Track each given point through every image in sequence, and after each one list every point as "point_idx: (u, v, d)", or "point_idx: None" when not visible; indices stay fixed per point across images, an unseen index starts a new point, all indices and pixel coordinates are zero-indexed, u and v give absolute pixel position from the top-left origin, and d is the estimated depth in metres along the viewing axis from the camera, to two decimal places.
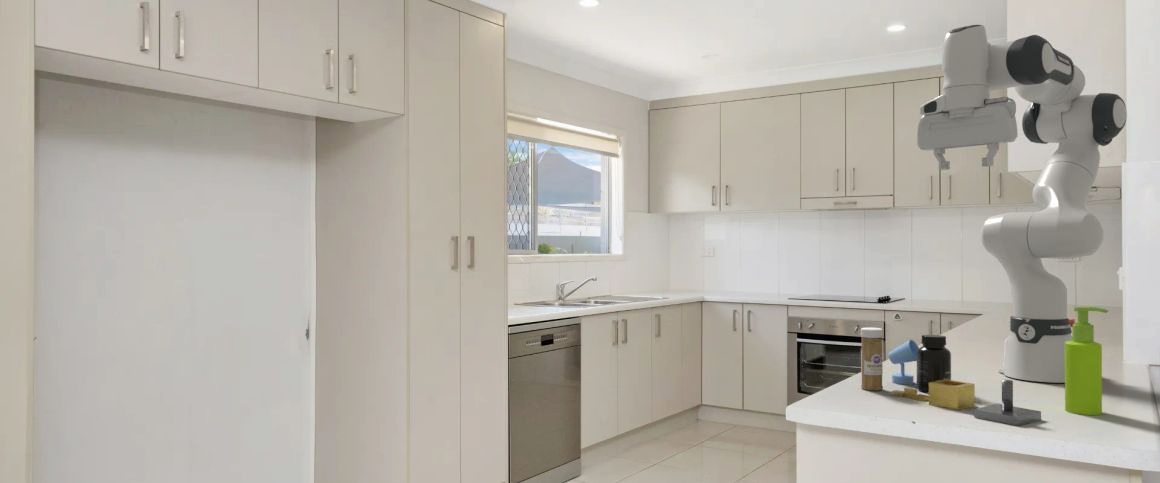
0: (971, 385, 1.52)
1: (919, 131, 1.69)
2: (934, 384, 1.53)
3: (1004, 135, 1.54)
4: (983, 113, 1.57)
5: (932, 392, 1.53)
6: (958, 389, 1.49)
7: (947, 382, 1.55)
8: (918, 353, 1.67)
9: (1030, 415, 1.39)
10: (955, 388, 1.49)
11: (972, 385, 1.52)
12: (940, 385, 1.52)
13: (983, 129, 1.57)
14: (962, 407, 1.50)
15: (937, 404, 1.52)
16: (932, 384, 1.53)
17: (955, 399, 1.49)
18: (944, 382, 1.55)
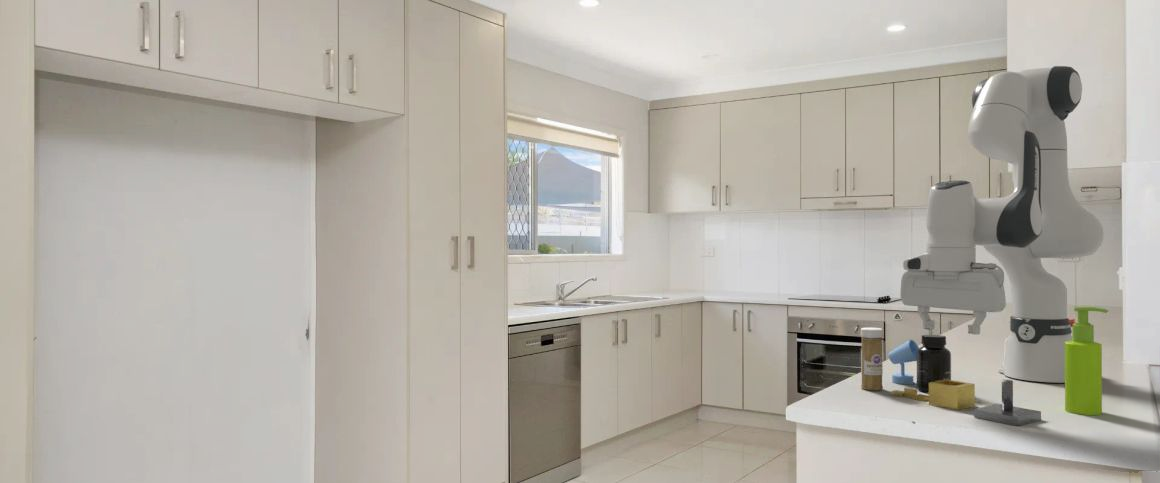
0: (971, 385, 1.52)
1: (902, 286, 1.59)
2: (934, 384, 1.53)
3: (992, 306, 1.44)
4: (969, 279, 1.48)
5: (932, 392, 1.53)
6: (958, 389, 1.49)
7: (947, 382, 1.55)
8: (918, 353, 1.67)
9: (1030, 415, 1.39)
10: (955, 388, 1.49)
11: (972, 385, 1.52)
12: (940, 385, 1.52)
13: (969, 296, 1.48)
14: (962, 407, 1.50)
15: (937, 404, 1.52)
16: (932, 384, 1.53)
17: (955, 399, 1.49)
18: (944, 382, 1.55)
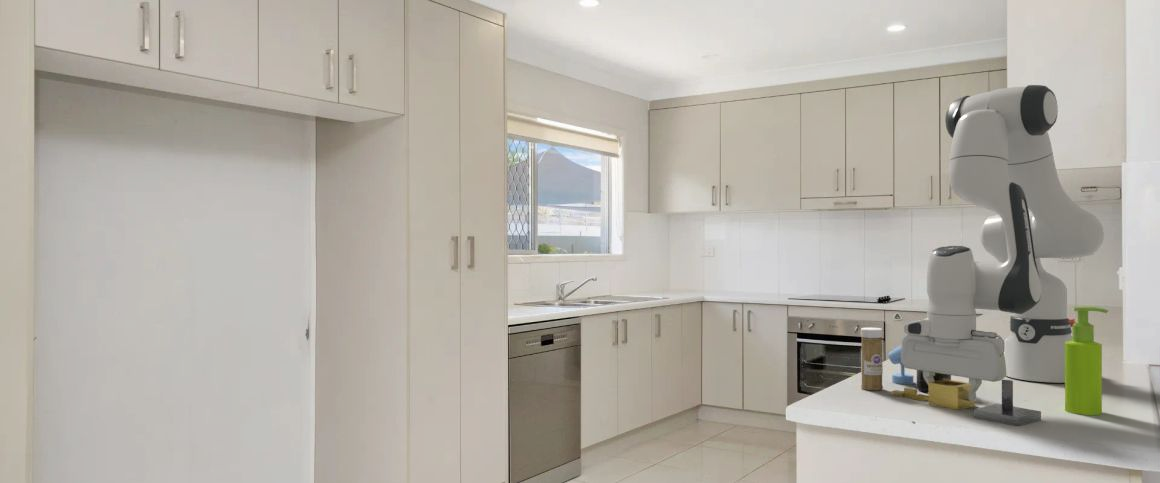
0: None
1: (903, 349, 1.59)
2: (934, 384, 1.53)
3: (992, 375, 1.44)
4: (970, 347, 1.48)
5: (932, 392, 1.53)
6: (958, 389, 1.49)
7: (947, 382, 1.55)
8: None
9: (1030, 415, 1.39)
10: (955, 388, 1.49)
11: None
12: (940, 385, 1.52)
13: (970, 364, 1.48)
14: (962, 407, 1.50)
15: (937, 404, 1.52)
16: (932, 384, 1.53)
17: (955, 399, 1.49)
18: (944, 382, 1.55)
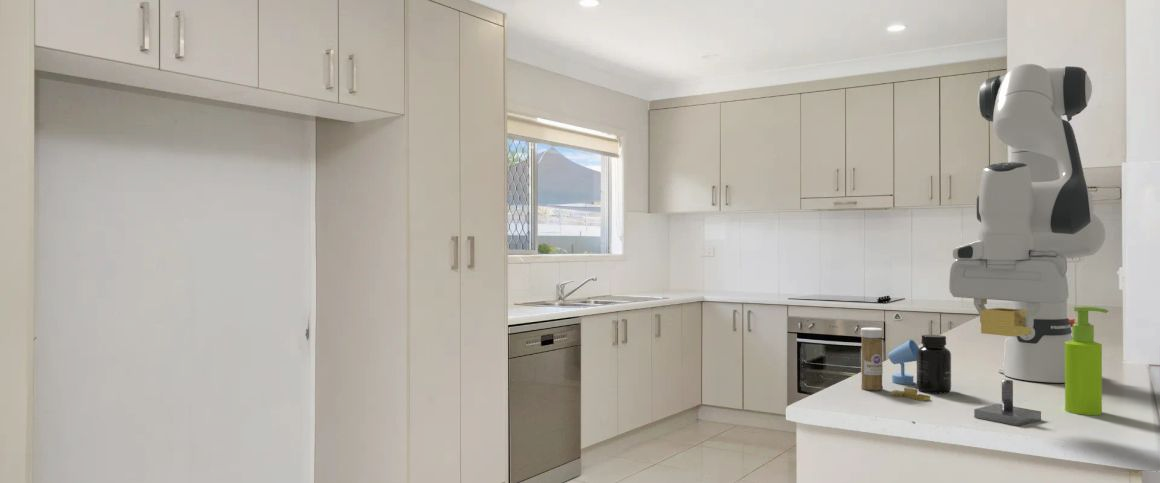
0: None
1: (952, 276, 1.48)
2: (987, 311, 1.42)
3: (1054, 297, 1.33)
4: (1028, 268, 1.37)
5: (985, 320, 1.42)
6: (1015, 314, 1.38)
7: (1000, 310, 1.44)
8: (918, 353, 1.67)
9: (1030, 415, 1.39)
10: (1011, 313, 1.38)
11: None
12: (994, 311, 1.41)
13: (1028, 286, 1.37)
14: (1019, 334, 1.39)
15: (991, 332, 1.41)
16: (985, 311, 1.42)
17: (1011, 325, 1.38)
18: (997, 310, 1.44)
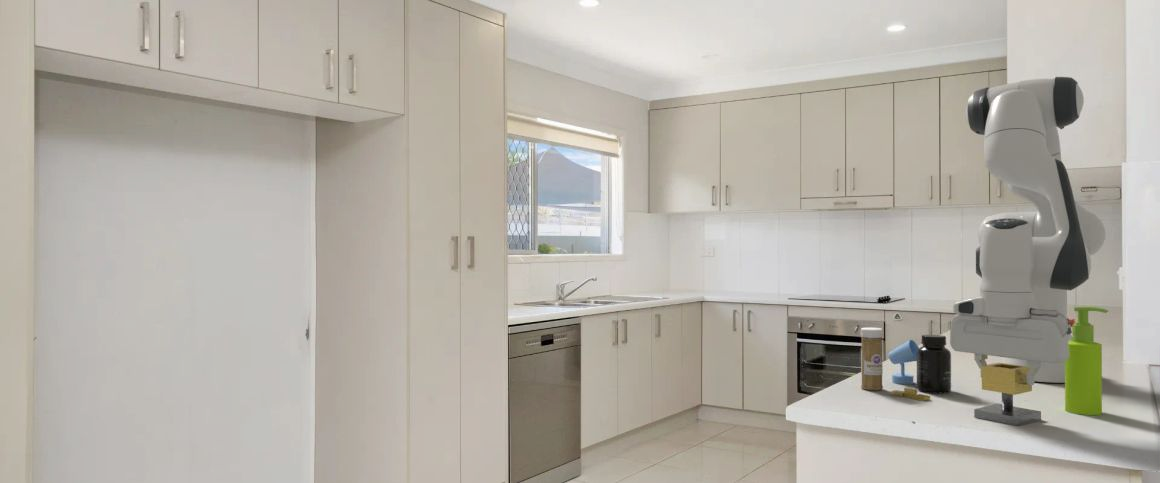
0: (1028, 368, 1.40)
1: (952, 330, 1.48)
2: (988, 367, 1.42)
3: (1055, 357, 1.33)
4: (1029, 327, 1.37)
5: (986, 376, 1.42)
6: (1015, 372, 1.38)
7: (1001, 366, 1.44)
8: (918, 353, 1.67)
9: (1030, 415, 1.39)
10: (1012, 371, 1.38)
11: (1029, 368, 1.40)
12: (995, 368, 1.40)
13: (1029, 345, 1.37)
14: (1019, 392, 1.38)
15: (991, 389, 1.41)
16: (986, 367, 1.42)
17: (1012, 383, 1.38)
18: (998, 365, 1.44)
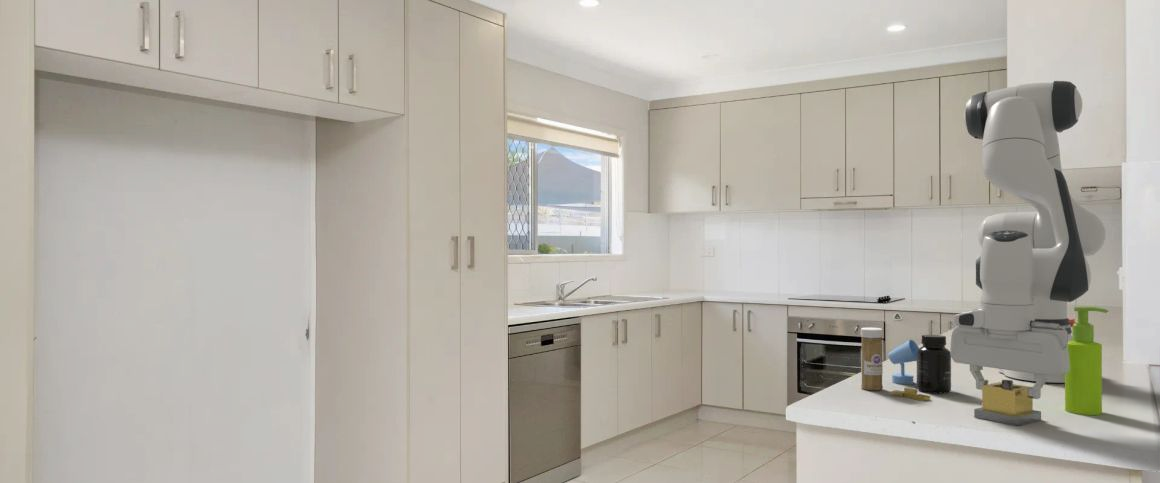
0: None
1: (953, 342, 1.48)
2: (988, 387, 1.42)
3: (1055, 370, 1.33)
4: (1029, 339, 1.37)
5: (986, 396, 1.42)
6: (1016, 393, 1.38)
7: None
8: (918, 353, 1.67)
9: (1030, 415, 1.39)
10: (1012, 392, 1.38)
11: None
12: (995, 389, 1.41)
13: (1029, 357, 1.37)
14: (1020, 412, 1.39)
15: (992, 409, 1.41)
16: (986, 387, 1.42)
17: (1012, 404, 1.38)
18: (998, 385, 1.44)
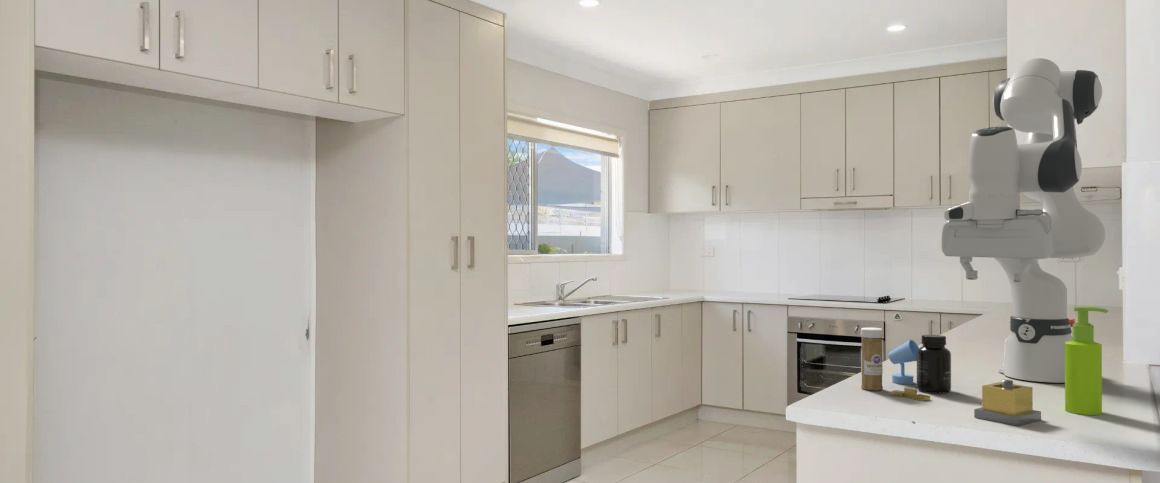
0: (1029, 388, 1.40)
1: (943, 237, 1.56)
2: (988, 387, 1.42)
3: (1039, 252, 1.42)
4: (1015, 226, 1.45)
5: (986, 396, 1.42)
6: (1016, 393, 1.38)
7: None
8: (918, 353, 1.67)
9: (1030, 415, 1.39)
10: (1012, 392, 1.38)
11: (1030, 389, 1.41)
12: (995, 389, 1.41)
13: (1015, 243, 1.45)
14: (1020, 412, 1.39)
15: (992, 409, 1.41)
16: (986, 387, 1.42)
17: (1012, 404, 1.38)
18: (998, 385, 1.44)
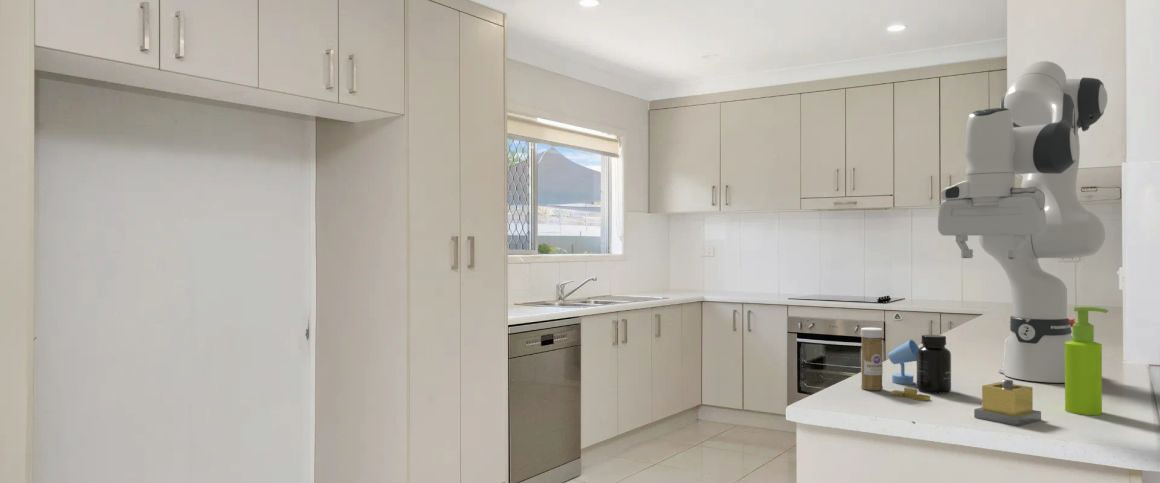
0: (1029, 388, 1.40)
1: (940, 216, 1.59)
2: (988, 387, 1.42)
3: (1033, 228, 1.44)
4: (1009, 204, 1.48)
5: (986, 396, 1.42)
6: (1016, 393, 1.38)
7: None
8: (918, 353, 1.67)
9: (1030, 415, 1.39)
10: (1012, 392, 1.38)
11: (1030, 389, 1.41)
12: (995, 389, 1.41)
13: (1010, 220, 1.48)
14: (1020, 412, 1.39)
15: (992, 409, 1.41)
16: (986, 387, 1.42)
17: (1012, 404, 1.38)
18: (998, 385, 1.44)
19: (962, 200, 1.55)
